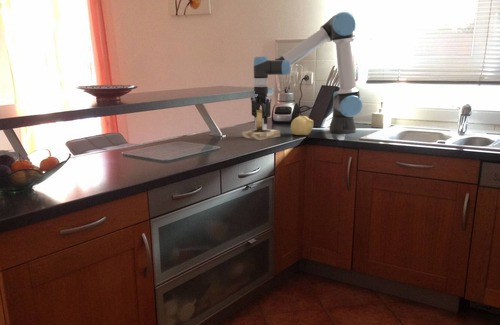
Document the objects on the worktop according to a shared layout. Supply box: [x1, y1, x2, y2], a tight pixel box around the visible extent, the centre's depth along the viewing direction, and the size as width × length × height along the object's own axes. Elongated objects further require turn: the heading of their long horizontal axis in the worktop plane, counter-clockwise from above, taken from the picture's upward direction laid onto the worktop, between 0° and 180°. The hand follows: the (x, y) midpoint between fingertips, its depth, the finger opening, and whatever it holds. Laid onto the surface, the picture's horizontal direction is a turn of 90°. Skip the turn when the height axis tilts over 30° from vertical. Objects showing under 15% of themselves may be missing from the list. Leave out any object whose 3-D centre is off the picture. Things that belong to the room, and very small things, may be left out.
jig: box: [241, 128, 281, 141], centre depth 243 cm, size 14×16×3 cm
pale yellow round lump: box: [290, 115, 315, 136], centre depth 246 cm, size 12×12×11 cm
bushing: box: [256, 109, 265, 132], centre depth 242 cm, size 5×5×12 cm
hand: (260, 129), depth 243 cm, fingers closed on bushing, 5 cm apart
